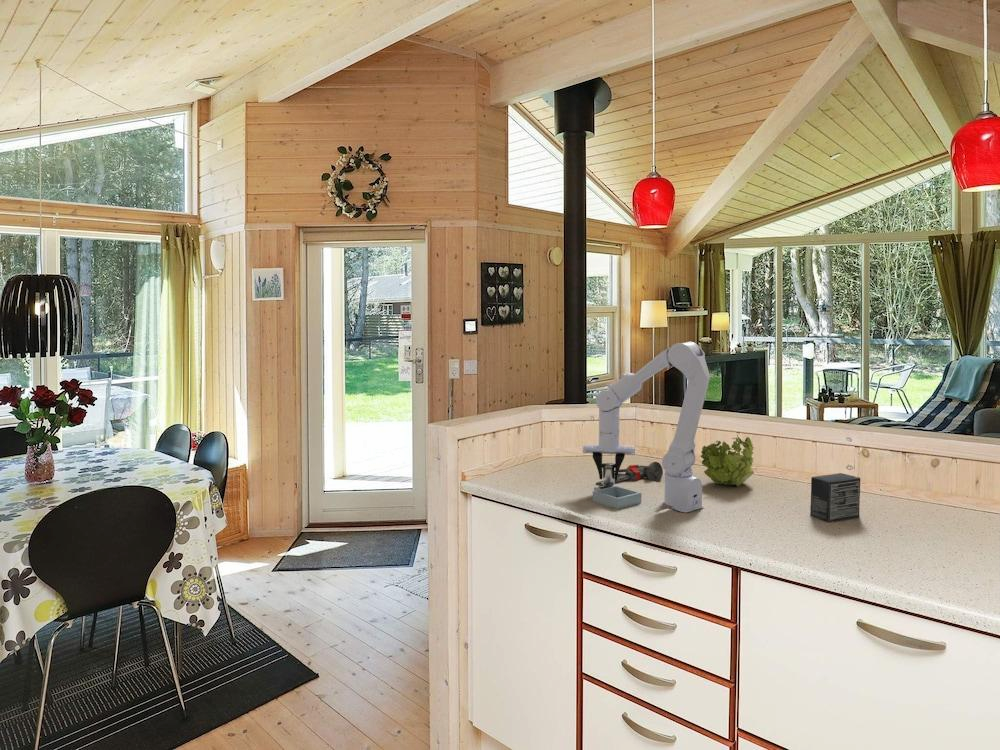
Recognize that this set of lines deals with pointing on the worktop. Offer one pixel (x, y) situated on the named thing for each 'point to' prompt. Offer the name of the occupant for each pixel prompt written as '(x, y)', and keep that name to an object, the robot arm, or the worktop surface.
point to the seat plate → (601, 487)
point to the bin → (609, 499)
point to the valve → (639, 473)
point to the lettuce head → (728, 462)
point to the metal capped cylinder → (608, 474)
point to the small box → (835, 497)
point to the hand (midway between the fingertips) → (608, 478)
